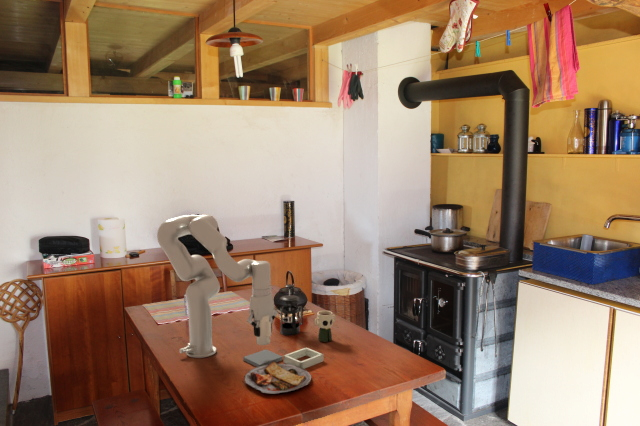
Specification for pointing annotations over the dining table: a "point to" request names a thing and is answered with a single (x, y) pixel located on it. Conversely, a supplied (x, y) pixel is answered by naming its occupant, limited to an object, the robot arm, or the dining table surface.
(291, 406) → the dining table surface
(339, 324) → the dining table surface
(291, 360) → the cream rectangular frame
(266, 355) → the slate coaster
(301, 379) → the food plate
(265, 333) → the cream jug
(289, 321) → the french press
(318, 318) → the character mug
